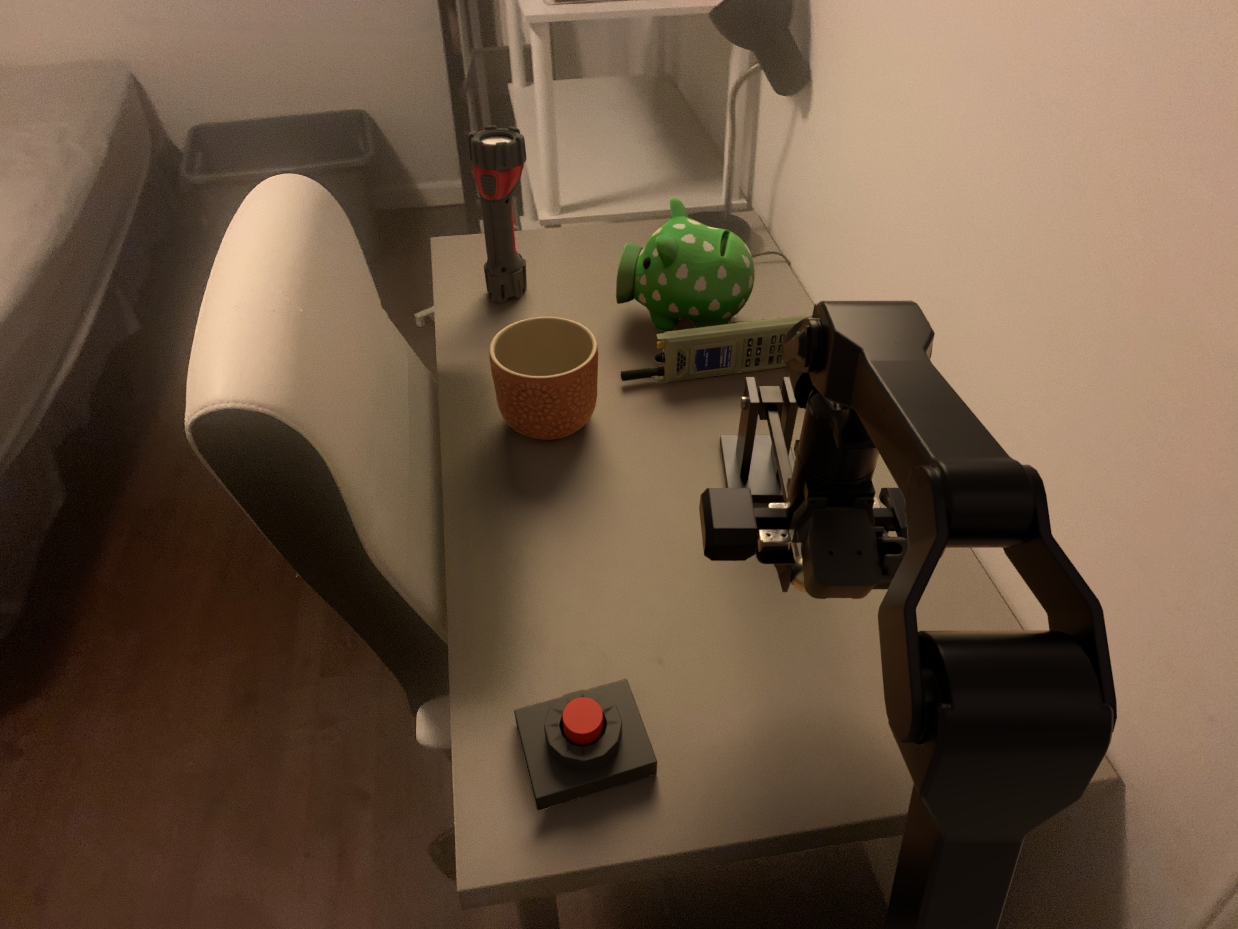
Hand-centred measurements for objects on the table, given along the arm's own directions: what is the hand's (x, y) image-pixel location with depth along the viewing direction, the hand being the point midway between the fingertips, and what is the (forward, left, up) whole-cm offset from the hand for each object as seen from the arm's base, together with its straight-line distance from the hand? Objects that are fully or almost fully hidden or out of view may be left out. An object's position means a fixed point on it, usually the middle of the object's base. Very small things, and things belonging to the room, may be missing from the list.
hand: (803, 588), depth 69 cm
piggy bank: (+54, -10, -8) cm, 56 cm away
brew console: (-4, +21, -8) cm, 23 cm away
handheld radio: (+41, -9, -8) cm, 43 cm away
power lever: (+11, -3, 0) cm, 11 cm away
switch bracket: (+22, -7, -8) cm, 24 cm away
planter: (+38, +14, -8) cm, 41 cm away
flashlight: (+70, +12, -8) cm, 72 cm away
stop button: (-4, +21, -4) cm, 22 cm away
